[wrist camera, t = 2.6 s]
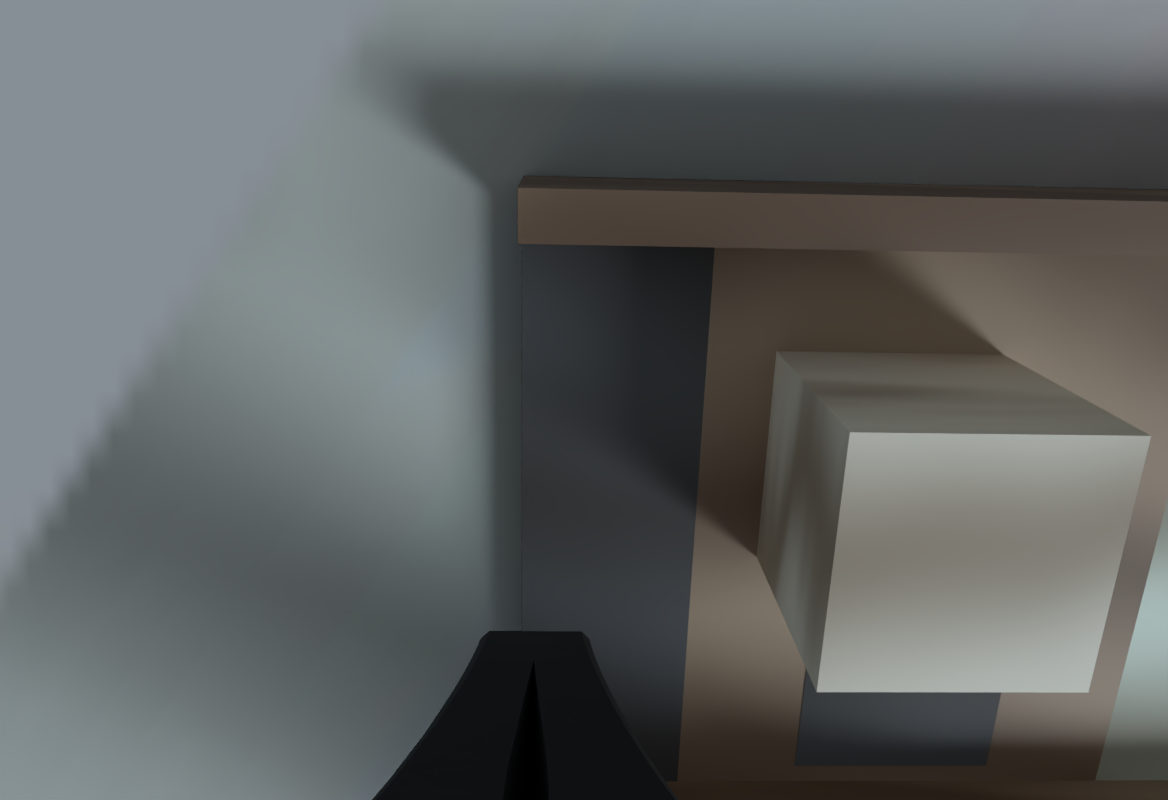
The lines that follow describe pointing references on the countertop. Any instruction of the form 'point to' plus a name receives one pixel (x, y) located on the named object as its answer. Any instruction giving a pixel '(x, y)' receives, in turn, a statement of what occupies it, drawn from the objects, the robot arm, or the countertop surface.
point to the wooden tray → (739, 446)
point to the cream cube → (942, 521)
